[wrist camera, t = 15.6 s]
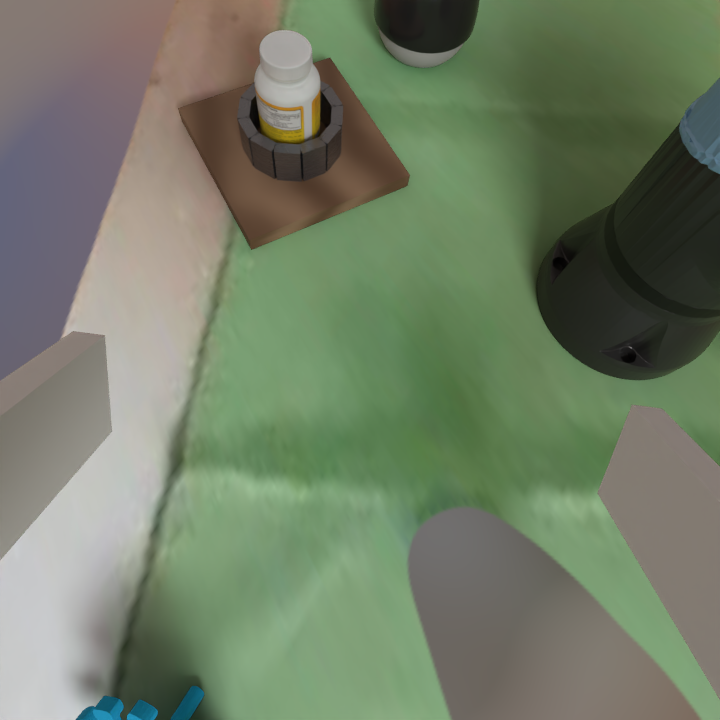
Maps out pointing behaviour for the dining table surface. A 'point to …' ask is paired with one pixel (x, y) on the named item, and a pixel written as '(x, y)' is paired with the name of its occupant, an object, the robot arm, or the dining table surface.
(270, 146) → the collar
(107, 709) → the gear
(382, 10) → the pump dispenser
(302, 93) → the supplement bottle
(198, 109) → the board
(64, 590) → the dining table surface
